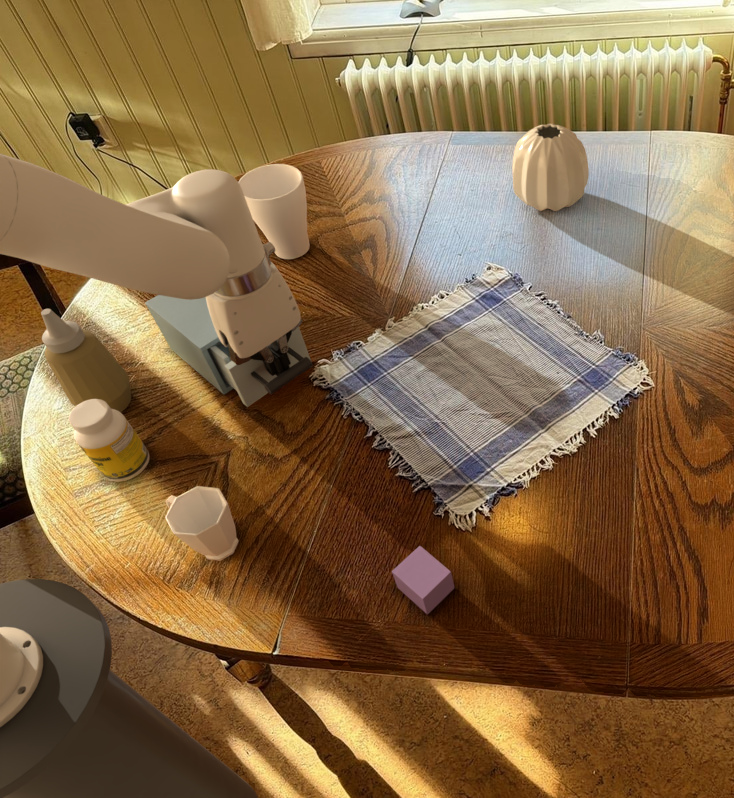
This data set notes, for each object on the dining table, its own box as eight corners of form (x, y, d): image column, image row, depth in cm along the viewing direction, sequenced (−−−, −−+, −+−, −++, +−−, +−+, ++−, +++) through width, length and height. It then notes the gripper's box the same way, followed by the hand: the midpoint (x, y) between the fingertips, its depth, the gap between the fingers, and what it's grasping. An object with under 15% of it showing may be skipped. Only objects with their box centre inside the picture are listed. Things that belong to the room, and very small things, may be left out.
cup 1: (220, 580, 89) (195, 546, 83) (162, 544, 92) (133, 509, 86) (261, 535, 93) (240, 500, 87) (204, 502, 96) (180, 466, 90)
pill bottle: (92, 474, 100) (50, 422, 91) (127, 440, 103) (89, 387, 95) (127, 490, 98) (86, 438, 90) (161, 455, 101) (125, 402, 93)
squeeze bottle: (150, 402, 108) (90, 310, 94) (96, 434, 104) (26, 343, 91) (123, 374, 112) (63, 282, 98) (71, 405, 108) (0, 313, 94)
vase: (592, 181, 142) (595, 114, 131) (578, 224, 133) (580, 156, 123) (522, 173, 144) (519, 107, 134) (504, 215, 135) (499, 148, 125)
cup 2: (294, 275, 126) (271, 207, 116) (249, 256, 129) (222, 189, 119) (335, 241, 132) (316, 173, 121) (290, 224, 135) (268, 157, 125)
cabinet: (294, 347, 114) (276, 300, 107) (224, 395, 108) (199, 348, 101) (240, 306, 121) (219, 259, 114) (170, 349, 115) (144, 302, 108)
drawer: (333, 378, 109) (320, 340, 103) (268, 425, 103) (250, 387, 97) (259, 322, 117) (243, 284, 111) (195, 363, 112) (175, 325, 106)
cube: (427, 614, 85) (422, 599, 82) (397, 587, 88) (391, 571, 85) (454, 587, 87) (451, 571, 84) (424, 562, 90) (419, 545, 87)
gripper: (270, 229, 96) (307, 331, 110) (167, 289, 89) (220, 390, 103) (306, 252, 93) (339, 355, 107) (202, 316, 85) (252, 417, 99)
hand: (281, 372), depth 105 cm, fingers closed
